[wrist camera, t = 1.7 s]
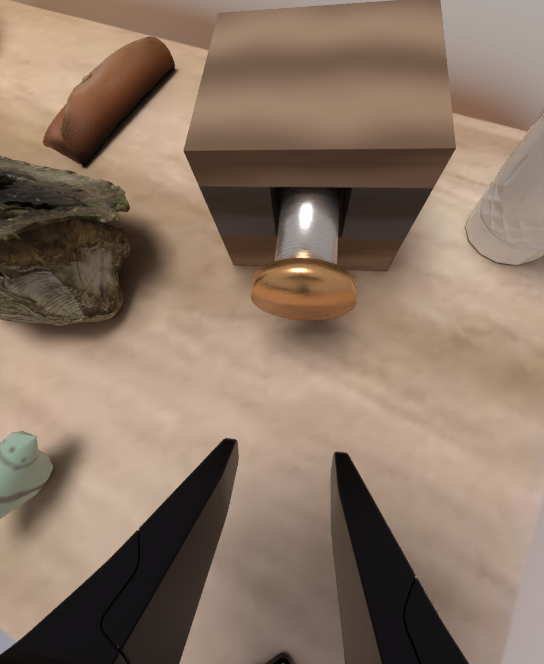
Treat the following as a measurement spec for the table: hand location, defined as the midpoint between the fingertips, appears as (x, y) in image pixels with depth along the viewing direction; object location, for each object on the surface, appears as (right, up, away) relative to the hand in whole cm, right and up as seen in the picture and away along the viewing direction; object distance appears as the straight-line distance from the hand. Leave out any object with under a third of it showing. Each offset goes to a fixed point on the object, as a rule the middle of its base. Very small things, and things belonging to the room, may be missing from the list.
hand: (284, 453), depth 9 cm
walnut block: (+4, +16, +19) cm, 25 cm away
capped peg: (+2, +11, +13) cm, 17 cm away
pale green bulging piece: (-19, -7, +14) cm, 25 cm away
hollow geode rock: (-25, +12, +21) cm, 35 cm away
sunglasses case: (-20, +32, +27) cm, 47 cm away
